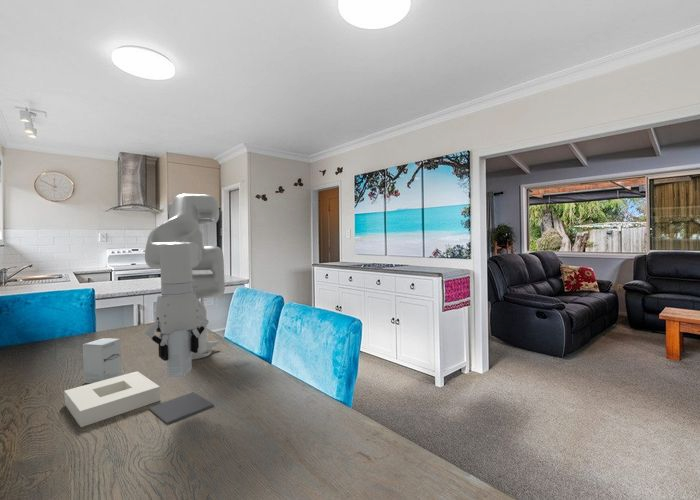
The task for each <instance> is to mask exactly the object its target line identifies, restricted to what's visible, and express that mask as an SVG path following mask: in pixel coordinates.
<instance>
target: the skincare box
mask: <svg viewBox="0 0 700 500" xmlns="http://www.w3.org/2000/svg"><path fill="white" fill-rule="evenodd" d="M166 345H168V360H167V361H166V371H167V372H166V374H167V376H166V377H167V378H183V377H185V376H186V375H187V374H188V373H189V372H190V371H191V370H192V368H193V366H192V360H191V330H189V331H186V330H179V331H175V332H173V333H172V334H170V335H169V337H168V339H167V341H166Z"/></svg>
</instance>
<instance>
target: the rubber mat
mask: <svg viewBox="0 0 700 500" xmlns="http://www.w3.org/2000/svg"><path fill="white" fill-rule="evenodd" d="M213 407H215V404H214V403H212V402H211V401H209V400H207V399H206V398H204V397H202V396H200V395H199V394H197V393H196V392H195V391H193V392H190V393H186V394H183V395H181V396H178V397H175V398H172V399H169V400H166V401H164V402H160V403H158V404H154V405H152V406H149V407H148V411H150V412H151V413H153V414H154V415H155V416H156V417H157V418H159V419H160V420H161V421H162V422H163V423H164V424H166V425H169V424H172V423H174V422H176V421H177V422H178V421H179V420H183V419H184V418H187V417H189V416H192V415H195V414H198V413H200V412H203V411H205V410H208V409H210V408H213Z"/></svg>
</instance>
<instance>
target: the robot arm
mask: <svg viewBox="0 0 700 500" xmlns="http://www.w3.org/2000/svg"><path fill="white" fill-rule="evenodd" d="M167 213H168V220H166V221H164V222H161V224H159V225H157V226H156V227H155V228H153V229H152V230H151V231H150V233H149V235H148V237H147V240H146V243H145V248H144V249H145V250H144V260H145V263H146V265H147V266H148V267H149V269H150V268H151V269H153V270H160V286H161V287H160V290H161V293H160V294H161V295H157V298H156V304H155V305H156V306H155V315H154V322H153V323H152V324H151V325H150V326H149V327H148V328H147V329H146V330H145V331H144V334H145V336H147V337H148V339H150V340H152V341H153V342H154V343H155V344H157V345H158V357H159V358H160V359H161V360H163V361H164V362H165V361H166V362H167V360H168V345H167V339H168V337H169V335H170V334H172V333H173V332H175V331H179V330H186V331H189V330H191V361H194V360H199V359H202V358H206V357H208V356H210V355H211V354H212V352H213V351H212V347H216V346H219V345H220V341H219V340H210V341H209V340H208V324H209V320H208V319H207V309H206V306H205V305H204V303H203V302H202V301H200V299H209V298H210V299H211V298H219V297H223V295H224V294H225V288H226V285H225V284H226V283H225V281H226V280H225V279H226V278H225V260H224V253H223V249H222V248H221V247H219V246H215V245H204V244H203V242H204V241H203V232H202V231H201V229H200V228H199V226H198V225H213V224H214V225H215V224H216V223H218V221H219V219H220V207H219V204H218V201H217V199H216V198H215V197H214V196H213V195H211V194H200V193H199V194H198V193H182V194H178V195H176V196H175V197H174V198H172V201H171V202H169V204H168V205H167ZM193 271H194V272H197V271H198V272H200V271H202V272H203V271H210V272H211V273H194V274H193ZM155 332H156V333H159V335H158V336H157V334H155Z"/></svg>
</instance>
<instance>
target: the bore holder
mask: <svg viewBox="0 0 700 500" xmlns="http://www.w3.org/2000/svg"><path fill="white" fill-rule="evenodd" d="M159 401H161V386H160V385H159V384H157V383H155V382H154V381H153V380H151V379H149V378H148V377H147V376H145V375H144V374H142V373H141V372H139V371H134V372H133V371H132V372H129V373H125V374H121V376H117V377H114V378H110V379H106V380H103V381H99V382H95V383H87V384H84V385H81V386H77V387H73V388H69V389H65V390H64V405H65V407H66V408H67V410H68V411H69V413H70V414H71V415H72V417H73V419H75V421H76V422H77V424H78V425H79V426H80V428H84V427H86V426H89V425H92V424H96V423H98V422H101V421H104V420H107V419H109V418H112V417H116V416H119V415H121V414H125V413H128V412H131V411H133V410H136V409H139V408H142V407H145V406H147V405H151V404H154V403H157V402H159Z"/></svg>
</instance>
